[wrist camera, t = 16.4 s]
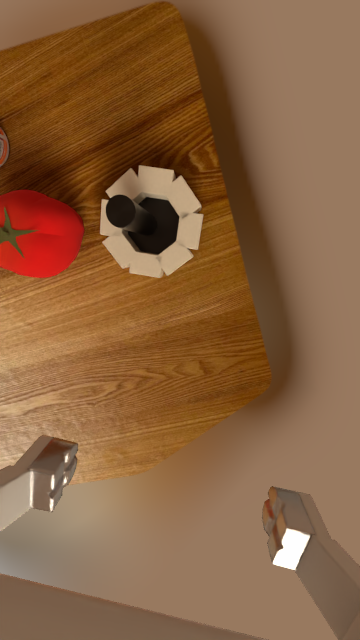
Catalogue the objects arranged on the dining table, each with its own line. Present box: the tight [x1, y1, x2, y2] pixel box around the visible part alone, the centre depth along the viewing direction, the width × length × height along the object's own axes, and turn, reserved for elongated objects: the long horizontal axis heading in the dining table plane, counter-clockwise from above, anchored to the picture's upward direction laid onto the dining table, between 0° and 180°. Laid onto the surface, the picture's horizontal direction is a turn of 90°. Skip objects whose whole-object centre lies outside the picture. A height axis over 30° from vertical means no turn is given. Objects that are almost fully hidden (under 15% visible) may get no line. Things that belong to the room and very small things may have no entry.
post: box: [106, 194, 179, 254], centre depth 30 cm, size 10×10×13 cm
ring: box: [100, 165, 203, 278], centre depth 34 cm, size 13×13×3 cm
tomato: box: [0, 189, 84, 278], centre depth 33 cm, size 11×13×10 cm
